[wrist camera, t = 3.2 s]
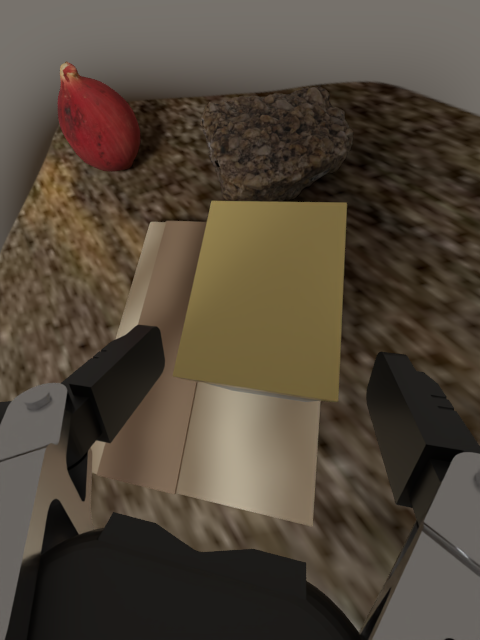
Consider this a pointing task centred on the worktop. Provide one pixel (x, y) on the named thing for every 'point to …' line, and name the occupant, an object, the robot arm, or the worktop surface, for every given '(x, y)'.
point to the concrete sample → (275, 143)
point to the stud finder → (268, 300)
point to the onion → (97, 122)
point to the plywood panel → (206, 409)
